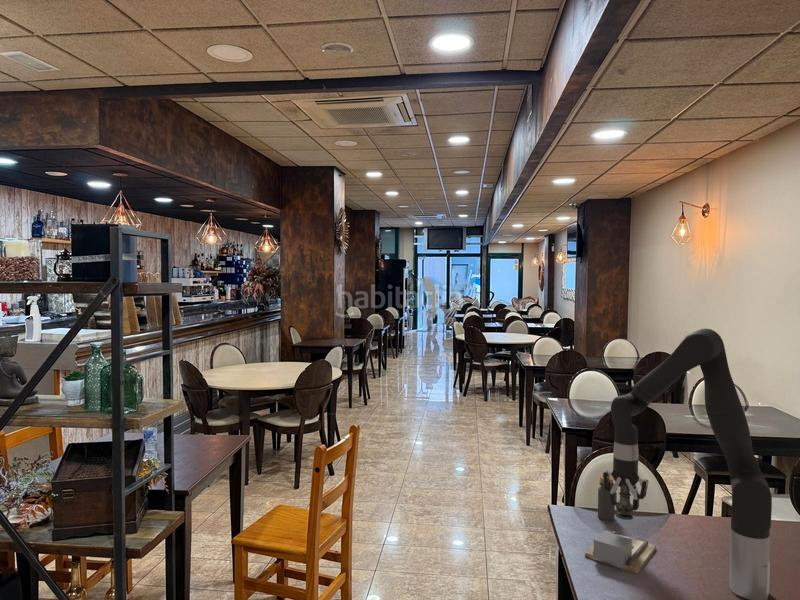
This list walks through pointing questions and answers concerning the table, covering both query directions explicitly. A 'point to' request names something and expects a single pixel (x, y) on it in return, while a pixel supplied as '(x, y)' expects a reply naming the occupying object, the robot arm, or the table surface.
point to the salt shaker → (624, 504)
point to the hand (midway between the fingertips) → (624, 507)
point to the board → (639, 554)
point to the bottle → (605, 502)
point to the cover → (612, 548)
